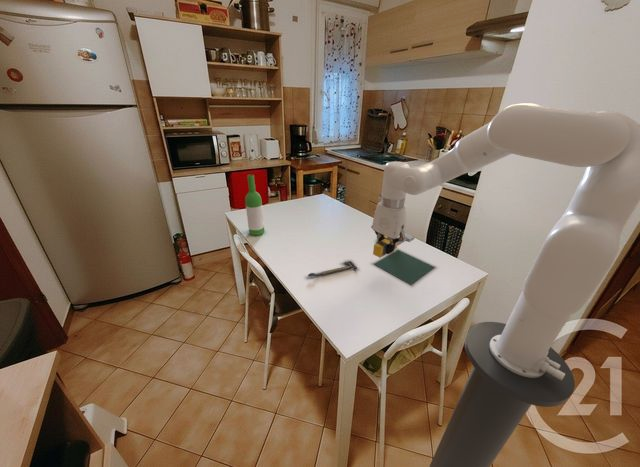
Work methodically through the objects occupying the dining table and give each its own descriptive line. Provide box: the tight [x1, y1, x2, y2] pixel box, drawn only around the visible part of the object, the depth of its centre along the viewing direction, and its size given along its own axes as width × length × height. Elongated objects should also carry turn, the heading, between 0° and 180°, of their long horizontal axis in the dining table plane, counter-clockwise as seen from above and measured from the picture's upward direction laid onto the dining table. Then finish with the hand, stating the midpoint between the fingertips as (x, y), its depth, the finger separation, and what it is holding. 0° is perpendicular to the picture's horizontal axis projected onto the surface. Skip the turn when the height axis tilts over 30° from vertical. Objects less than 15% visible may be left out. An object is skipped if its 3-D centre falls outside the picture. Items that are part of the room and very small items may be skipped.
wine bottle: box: [244, 174, 265, 236], centre depth 128 cm, size 8×8×30 cm
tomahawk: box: [307, 260, 358, 277], centre depth 107 cm, size 21×7×1 cm, turn 110°
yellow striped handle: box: [372, 232, 416, 259], centre depth 95 cm, size 4×21×4 cm, turn 132°
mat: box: [373, 249, 435, 286], centre depth 111 cm, size 18×18×1 cm
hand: (385, 250), depth 93 cm, fingers closed on yellow striped handle, 3 cm apart
